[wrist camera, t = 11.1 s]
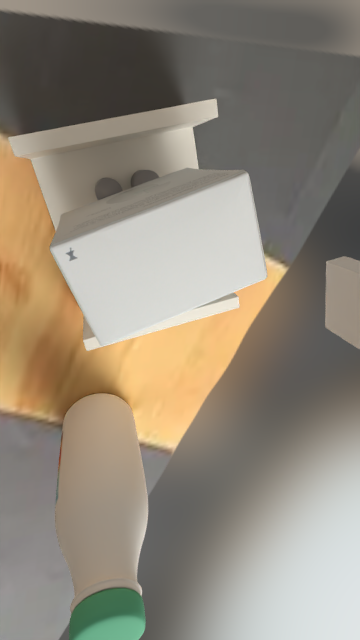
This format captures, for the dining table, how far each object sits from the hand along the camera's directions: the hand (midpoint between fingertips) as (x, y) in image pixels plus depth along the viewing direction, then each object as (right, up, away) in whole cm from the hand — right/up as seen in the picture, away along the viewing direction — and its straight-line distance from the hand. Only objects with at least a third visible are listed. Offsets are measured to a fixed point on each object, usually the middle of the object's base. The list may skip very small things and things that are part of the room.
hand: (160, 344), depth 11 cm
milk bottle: (-9, -10, +26) cm, 29 cm away
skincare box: (-2, +8, +15) cm, 17 cm away
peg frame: (-4, +9, +18) cm, 21 cm away
